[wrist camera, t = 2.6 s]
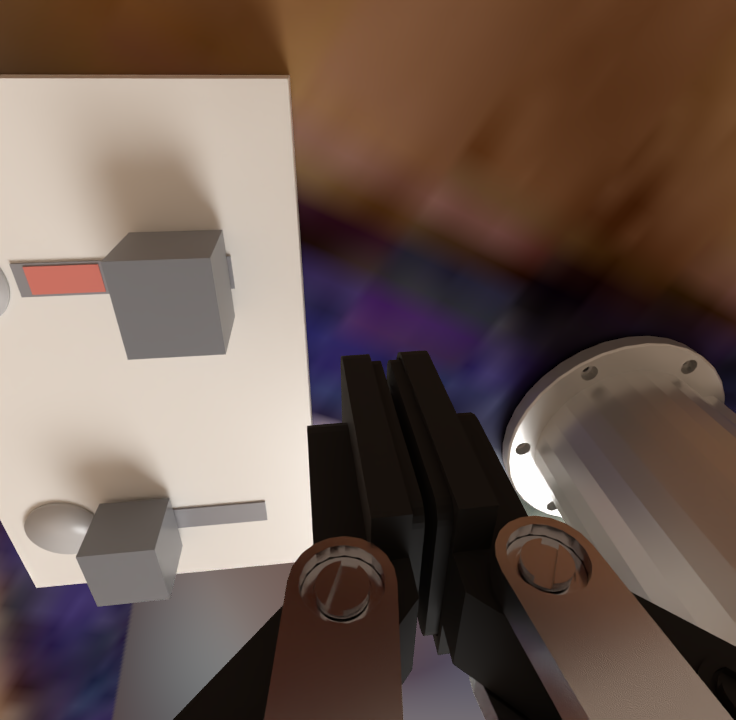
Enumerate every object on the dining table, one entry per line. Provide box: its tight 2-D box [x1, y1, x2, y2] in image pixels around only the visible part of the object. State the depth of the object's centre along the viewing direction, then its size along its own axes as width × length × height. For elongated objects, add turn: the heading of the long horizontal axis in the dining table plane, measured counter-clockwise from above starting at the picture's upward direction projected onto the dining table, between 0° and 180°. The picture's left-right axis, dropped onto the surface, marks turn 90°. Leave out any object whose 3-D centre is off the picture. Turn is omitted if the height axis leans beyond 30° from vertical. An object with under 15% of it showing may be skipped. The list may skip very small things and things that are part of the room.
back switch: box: [76, 498, 183, 606], centre depth 22 cm, size 3×3×3 cm
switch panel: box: [0, 74, 313, 588], centre depth 22 cm, size 14×22×4 cm, turn 0°
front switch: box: [101, 230, 235, 360], centre depth 16 cm, size 3×3×3 cm
